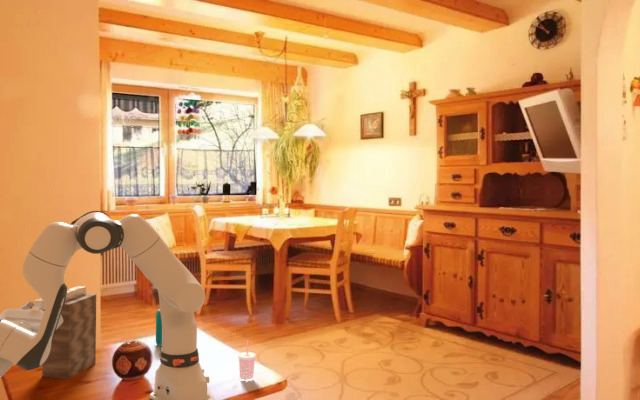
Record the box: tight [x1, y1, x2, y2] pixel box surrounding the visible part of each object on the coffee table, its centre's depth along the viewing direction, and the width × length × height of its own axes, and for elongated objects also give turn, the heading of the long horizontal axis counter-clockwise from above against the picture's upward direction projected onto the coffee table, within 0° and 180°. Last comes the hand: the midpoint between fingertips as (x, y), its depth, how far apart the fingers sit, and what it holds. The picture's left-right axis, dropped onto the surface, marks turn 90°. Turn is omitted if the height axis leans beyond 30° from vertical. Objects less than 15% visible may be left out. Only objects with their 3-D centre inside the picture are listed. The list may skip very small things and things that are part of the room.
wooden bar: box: [33, 285, 87, 311], centre depth 185 cm, size 24×3×3 cm, turn 171°
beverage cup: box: [237, 340, 257, 380], centre depth 186 cm, size 6×6×14 cm
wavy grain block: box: [41, 293, 97, 380], centre depth 190 cm, size 16×10×26 cm, turn 171°
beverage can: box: [155, 307, 162, 347], centre depth 222 cm, size 6×6×15 cm
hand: (44, 303), depth 176 cm, fingers open, 8 cm apart
